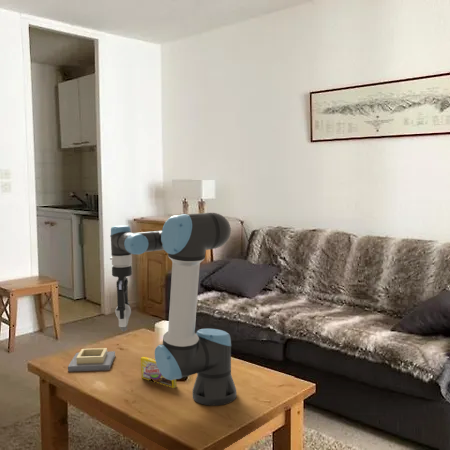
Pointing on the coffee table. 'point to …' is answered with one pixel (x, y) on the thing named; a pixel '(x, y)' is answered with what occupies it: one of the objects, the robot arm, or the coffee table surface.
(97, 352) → the lamp base
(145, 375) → the candy box
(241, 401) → the coffee table surface
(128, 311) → the lightbulb
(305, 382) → the coffee table surface
